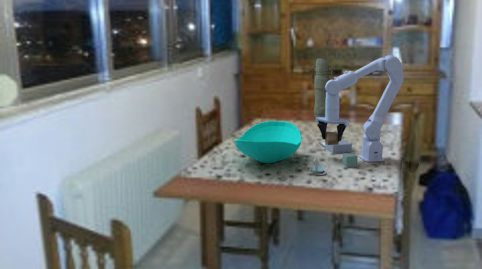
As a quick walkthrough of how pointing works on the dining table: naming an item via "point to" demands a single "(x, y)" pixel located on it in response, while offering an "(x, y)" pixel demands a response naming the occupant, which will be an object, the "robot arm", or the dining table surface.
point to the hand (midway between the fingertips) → (331, 140)
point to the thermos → (320, 85)
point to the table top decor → (270, 141)
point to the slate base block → (339, 147)
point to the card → (322, 144)
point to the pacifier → (318, 168)
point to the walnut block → (331, 138)
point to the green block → (350, 160)
